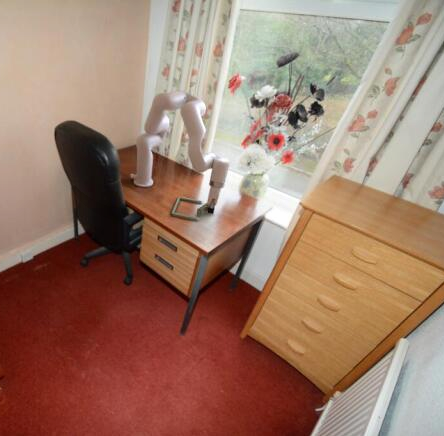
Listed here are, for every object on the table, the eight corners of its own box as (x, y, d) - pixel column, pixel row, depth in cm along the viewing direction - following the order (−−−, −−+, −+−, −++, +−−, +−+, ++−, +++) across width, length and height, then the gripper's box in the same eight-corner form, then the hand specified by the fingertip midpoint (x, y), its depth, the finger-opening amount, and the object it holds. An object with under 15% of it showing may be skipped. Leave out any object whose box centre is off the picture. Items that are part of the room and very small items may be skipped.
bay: (171, 215, 146) (171, 213, 145) (178, 198, 160) (178, 196, 159) (196, 221, 142) (196, 218, 141) (201, 203, 157) (201, 200, 156)
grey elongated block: (200, 217, 144) (201, 210, 142) (196, 215, 146) (196, 209, 144) (212, 208, 152) (213, 201, 149) (208, 206, 153) (208, 200, 151)
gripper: (211, 175, 144) (205, 204, 154) (207, 187, 132) (201, 218, 143) (225, 177, 142) (218, 207, 152) (223, 190, 130) (216, 221, 141)
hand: (210, 212), depth 147 cm, fingers closed
